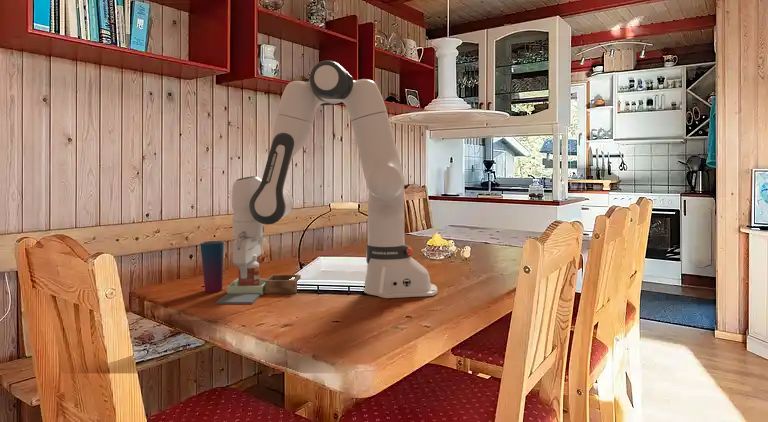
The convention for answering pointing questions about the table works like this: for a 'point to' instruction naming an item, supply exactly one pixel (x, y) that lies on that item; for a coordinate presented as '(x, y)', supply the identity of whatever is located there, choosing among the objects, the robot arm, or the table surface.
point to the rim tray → (246, 287)
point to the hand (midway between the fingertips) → (248, 274)
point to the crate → (281, 284)
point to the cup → (212, 265)
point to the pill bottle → (251, 274)
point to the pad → (239, 298)
